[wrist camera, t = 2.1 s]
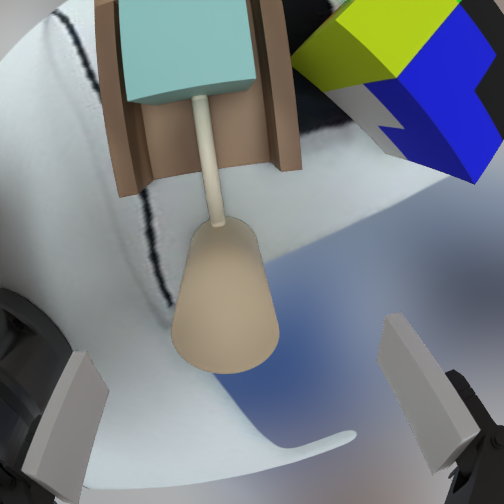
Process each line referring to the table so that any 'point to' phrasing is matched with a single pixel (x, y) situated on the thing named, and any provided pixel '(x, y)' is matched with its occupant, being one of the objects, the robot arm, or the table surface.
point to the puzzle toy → (416, 77)
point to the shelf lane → (181, 112)
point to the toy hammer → (205, 174)
